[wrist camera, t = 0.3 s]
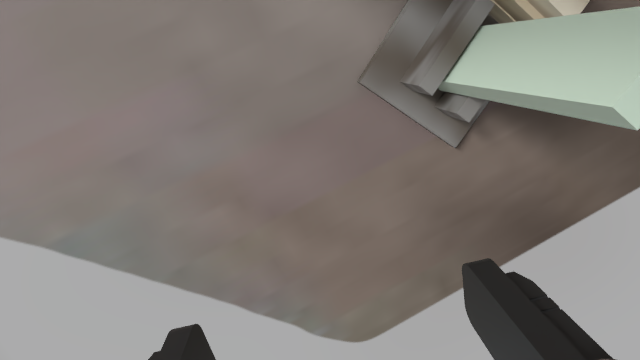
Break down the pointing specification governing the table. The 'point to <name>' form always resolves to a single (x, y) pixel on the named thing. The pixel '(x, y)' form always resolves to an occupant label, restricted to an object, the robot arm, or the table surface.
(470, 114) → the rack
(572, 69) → the slat
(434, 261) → the table surface
